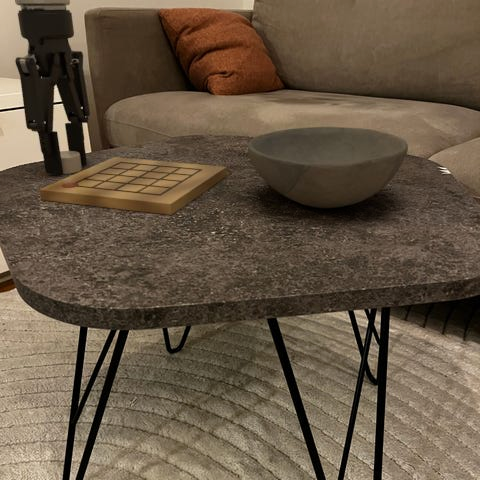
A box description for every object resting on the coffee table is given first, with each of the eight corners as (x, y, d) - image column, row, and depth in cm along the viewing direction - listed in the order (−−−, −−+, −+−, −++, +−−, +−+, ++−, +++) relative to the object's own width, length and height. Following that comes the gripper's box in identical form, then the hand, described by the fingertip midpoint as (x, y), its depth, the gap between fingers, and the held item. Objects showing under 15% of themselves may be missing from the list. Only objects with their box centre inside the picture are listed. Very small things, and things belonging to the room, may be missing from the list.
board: (40, 200, 82) (39, 188, 81) (114, 166, 98) (113, 156, 98) (171, 215, 76) (170, 202, 75) (226, 176, 93) (226, 166, 92)
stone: (45, 172, 95) (42, 156, 94) (63, 165, 99) (60, 150, 98) (71, 175, 93) (68, 158, 92) (87, 168, 97) (85, 152, 96)
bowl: (429, 218, 74) (439, 154, 71) (269, 230, 71) (270, 163, 67) (364, 175, 93) (369, 122, 89) (234, 183, 89) (233, 128, 85)
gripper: (23, 9, 76) (51, 186, 87) (101, 7, 92) (117, 157, 103) (-24, 9, 78) (9, 181, 89) (60, 7, 94) (80, 154, 105)
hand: (66, 168), depth 96 cm, fingers open, 6 cm apart
